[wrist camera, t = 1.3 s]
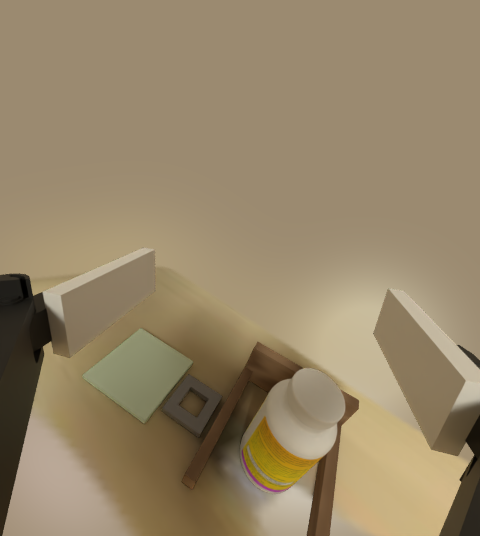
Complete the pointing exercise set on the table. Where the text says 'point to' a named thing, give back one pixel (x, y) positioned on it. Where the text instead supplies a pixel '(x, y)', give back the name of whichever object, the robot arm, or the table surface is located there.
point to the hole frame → (184, 416)
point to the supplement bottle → (291, 430)
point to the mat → (139, 373)
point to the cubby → (266, 377)
